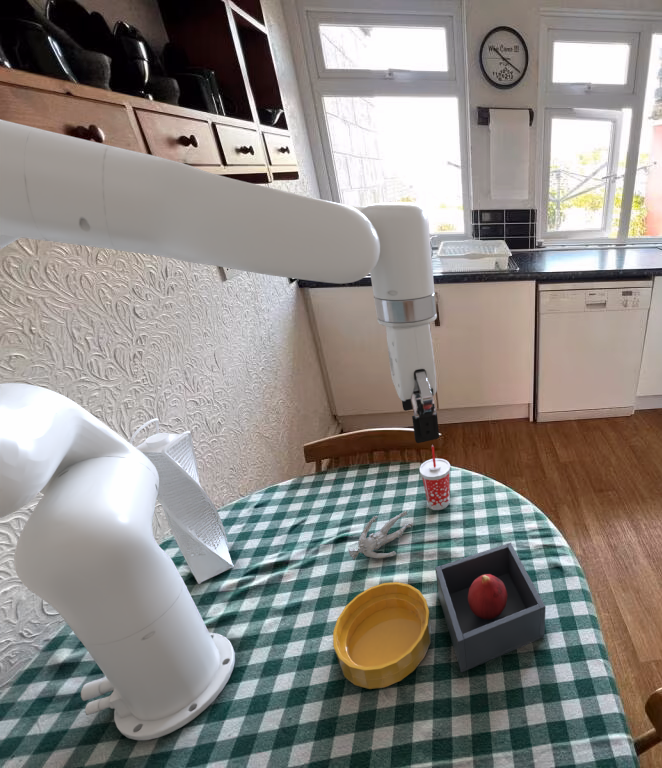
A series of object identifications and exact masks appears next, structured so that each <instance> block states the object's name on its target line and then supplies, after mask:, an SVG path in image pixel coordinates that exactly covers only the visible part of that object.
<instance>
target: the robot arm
mask: <svg viewBox="0 0 662 768" xmlns="http://www.w3.org/2000/svg"><path fill="white" fill-rule="evenodd" d="M430 236H431V235H430V223H429V217H428V213H427V211H426V209H425V208H424V207H423V206H422V205H420V204H418V203H414V202H379V203H373V204H369V205H366V206H365V205H349V204H347V205H346V204H343V203H339V202H334V201H330V200H326V199H322V198H321V199H320V198H316V197H312V196H307V195H303V194H299V193H295V192H291V191H287V190H283V189H278V188H273V187H269V186H264V185H261V184H257V183H252V182H247V181H244V180H239V179H235V178H231V177H227V176H224V175H220V174H216V173H212V172H209V171H206V170H204V169H201V168H197V167H195V166H192V165H189V164H187V163H183V162H180V161H176V160H172V159H169V158H165V157H161V156H157V155H153V154H149V153H144V152H139V151H135V150H131V149H127V148H123V147H119V146H113V145H108V144H104V143H100V142H95V141H93V140H88V139H84V138H80V137H75V136H71V135H67V134H62V133H59V132H55V131H51V130H46V129H41V128H37V127H35V126H34V127H33V126H31V125H25V124H21V123H17V122H13V121H9V120H5V119H0V250H1V249H4V248H5V247H7V246H9V245H11V244H12V243H14V242H16V241H18V240H21V238H22V239H29V240H37V241H43V242H53V243H62V244H69V245H75V246H76V245H77V246H83V247H84V246H85V247H92V248H98V249H105V250H114V251H117V252H118V251H119V252H127V253H132V254H133V253H134V254H143V255H148V256H156V257H161V258H166V259H167V258H169V259H174V260H177V261H182V262H185V263H190V264H191V263H192V264H198V265H208V266H215V267H220V268H226V269H231V270H237V271H243V272H248V273H253V274H259V275H260V274H261V275H266V276H273V277H280V278H287V279H297V280H303V281H310V282H311V281H313V282H320V283H326V284H349V283H355V282H358V281H360V280H363V279H364V278H366V277H368V275H369V274H370V275H369V276H370V281H371V287H372V293H373V301H374V307H375V314H376V320H377V323H378V324H379V325H381V326H383V327H385V334H386V345H387V353H388V360H389V361H388V362H389V370H390V371H389V372H390V377H391V378H390V379H391V381H392V384H393V386H394V390H395V393H396V395H397V397H398V399H399V400H401V405H402V409H403V411H404V412H407V411H413V415H411V420H412V427H413V434H414V435H413V436H414V440H415V443H416V444H422V443H426V442H430V441H434V440H438V439H439V438H440V430H439V419H438V412H437V408H436V404H435V398H434V396H435V395H436V394H437V391H438V386H437V385H438V384H437V372H436V363H435V354H434V345H433V337H432V331H431V323H433V322H434V321H435V320H437V318H438V314H437V304H436V292H435V283H434V282H435V280H434V270H433V259H432V248H431V237H430ZM129 442H130V441H127V439H125V438H123V437H122V436H121V435H120V434H118V433H117V432H116V431H114V430H113V429H112V428H110V427H109V426H108V425H107V424H105V423H104V422H102V420H100V419H99V418H98V417H96V416H95V415H93V414H92V413H90V412H89V411H88V410H87V409H86V408H84V407H82V406H81V405H80V404H78V403H77V402H75V401H74V400H72V399H71V398H69V397H67V396H66V395H63V394H61V393H59V392H57V391H54V390H51V389H49V388H46V387H42V386H38V385H35V384H29V383H20V382H2V383H0V519H2V518H4V517H6V516H9V515H11V514H12V515H13V513H15V512H18V510H20V509H22V508H24V507H25V506H27V505H28V504H29V503H30V502H31V501H33V500H34V499H35V498H36V497H37V496H38V494H39V493H40V494H42V495H43V496H42V497H41V498H40V499H39V501H38V502H37V504H36V506H35V508H34V509H33V510H32V512H31V514H30V515H29V517H28V519H27V521H26V522H25V524H24V526H23V528H22V530H21V532H20V534H19V536H18V539H17V542H16V545H15V549H14V555H13V563H14V570H15V574H16V576H17V578H18V579H19V581H20V582H21V583H22V584H23V586H24V587H26V588H27V589H28V590H29V591H30V592H32V593H33V594H34V595H36V596H37V597H39V598H40V599H42V600H43V601H44V602H46V603H47V604H48V605H50V607H52V608H53V609H54V610H55V611H56V613H58V615H60V617H61V618H62V619H63V620H64V621H65V623H66V624H67V626H68V627H69V628H70V629H71V631H72V632H73V633H74V635H75V636H76V638H77V639H78V640H79V641H80V643H81V644H82V645H83V646H84V648H85V649H86V651H87V652H88V654H89V655H90V656H91V658H92V659H93V661H94V662H95V663H96V665H97V666H98V668H99V669H100V671H102V673H103V675H104V677H100V678H98V679H95V680H91V681H89V682H86V683H84V684H83V686H82V687H81V690H80V698H81V700H82V701H83V702H86V701H88V702H87V703H86V705H85V709H84V713H85V716H90V715H94V714H96V713H100V712H102V711H103V710H106V709H108V708H110V709H111V710H114V711H113V716H114V717H113V718H114V723H115V726H116V728H117V730H118V731H119V732H120V733H121V735H122V736H125V738H127V739H131V740H134V741H150V740H153V739H159V738H161V737H163V736H166V735H169V734H171V733H173V732H175V731H177V730H178V729H181V728H182V727H184V726H186V725H187V724H189V723H190V722H192V721H193V720H194V719H196V718H197V717H198V716H200V714H202V713H203V712H204V711H205V710H206V709H208V707H209V706H210V705H211V704H212V703H213V702H214V701H215V700H216V699H217V697H218V696H219V695H220V694H221V693H222V691H223V690H224V689H225V687H226V685H227V683H228V682H229V680H230V678H231V676H232V673H233V670H234V667H235V663H236V652H235V650H234V649H235V648H234V647H233V645H232V642H231V641H230V639H228V638H227V637H226V636H224V635H222V634H220V633H217V632H216V633H215V632H210V631H209V630H208V628H207V625H206V623H205V621H204V619H203V617H202V615H201V613H200V611H199V609H198V607H197V605H196V602H195V601H194V599H193V597H192V595H191V593H190V591H189V589H188V587H187V585H186V583H185V581H184V579H183V577H182V576H181V574H180V572H179V569H178V568H177V566H176V564H175V562H174V560H173V559H172V558H171V556H170V555H169V554H168V553H167V552H166V551H165V550H164V549H163V548H162V547H161V546H160V545H159V544H158V542H157V541H156V539H155V535H154V531H153V521H154V516H155V511H156V510H155V509H156V503H157V495H158V489H159V476H158V472H157V470H156V468H155V466H154V465H153V463H152V462H151V461H150V460H149V459H148V458H147V457H146V456H145V455H144V454H143V453H142V452H140V451H139V450H138V449H137V448H135V447H136V446H134V445H133V444H132V445H131V444H130V443H129ZM110 692H111V694H110V695H108V696H105V697H101V698H98V699H94V698H97V697H100V696H103V695H105V694H107V693H110ZM92 699H94V700H92ZM89 700H92V701H89Z"/></svg>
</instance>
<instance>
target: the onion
mask: <svg viewBox="0 0 662 768" xmlns="http://www.w3.org/2000/svg"><path fill="white" fill-rule="evenodd" d="M507 596H508V595H507V591H506V588H505V585H504V583H503V582H502V581H501V580H500V579H498V578H497V577H495V576H493V575H491V574H485V575H482V576H480V577H478V578H477V579H475V580H474V581H473V583H472V585H471V586H470V588H469V593H468V602H469V606H470V609H471V610H472V612H473V613H474V614H475V615H477V616H478V617H480V618H482V619H487V620H489V619H493V618H495V617H497V616H498V615H500V614H501V613H502V611H503V610H504V608H505V607H506V602H507Z"/></svg>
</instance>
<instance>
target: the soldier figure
mask: <svg viewBox="0 0 662 768" xmlns="http://www.w3.org/2000/svg"><path fill="white" fill-rule="evenodd" d="M407 515H408V511H407V510H404V511H403V512H401V513H399V514H397V515H396V516H394V517H392V518H390V519H389V520H388V521H386V522H385V524H384V525H383V526H382V527H381V529H380V530H378V531H376V532H372V533H370V534H369V535H368V533H369V531H370V529H371V527H372V524H373V523H375V522H378V520H377V519H378V518H379V517H378V515H374V516H372V518H371V519H370V520H369V521H368V522H367V524H366V525H365V527H364V528H363V529H362V531H361V534H360V536H359V539H358V546H357V548H356V547H353V548H350V547H349V548H347V551H348V554H349V556H350V558H351V559H352V560H353V561H355V560H356V559H357V557H358V556H359V553H360V554H363V555H364V556H365V557H367V558H372V559H378V560H379V559H386V558H391V557H394V556H396V555H397V552H396V551H395V550H393V551H391V552H388V553H386V552H385V553H384V552H383V553H382V552H375V551H377V550H379V549H380V548H381V547H383V546H385V545H387V544H389V543H391V542H393V541H394V540H396V539H397V538H400V537H402V536H403V533H404V532H405V531H406V529H409V528H410V529H411V528H412V527H414V523H413V522H408V523H406V524H404V525H403V526H402V527H401V528H399V529H398V530H396V531H394V532H392V533H389V531H390V530H391V528H393V526H395V524H396V522H397V521H398V520H399V519H400V518H403V517H406V516H407ZM388 533H389V534H388ZM367 535H368V537H367Z"/></svg>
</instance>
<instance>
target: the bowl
mask: <svg viewBox="0 0 662 768" xmlns="http://www.w3.org/2000/svg"><path fill="white" fill-rule="evenodd" d="M428 605H429V604H428V602H427V599H426V597H425V596H424V595H423V593H422V592H421V591H420V590H419V589H417V588H416V587H414V586H412V585H411V584H409V583H408V584H407V583H404V582H399V581H395V582H392V581H391V582H383V583H379V584H377V585H374V586H370V587H368V588H367V589H365V590H363V591H362V592H360V593H358V594H357V595H356V596H355V597H354V598H353V599H352V600H350V602H349V603H347V604H346V605H345V607H344V608H343V609H342V611H341V612H340V614H339V616H338V617H337V619H336V623H335V625H334V627H333V631H332V641H333V642H332V645H333V646H332V647H333V650H334V653H335V656H336V659H337V663H338V666H339V668H340V670H341V672H342V674H343V676H344V678H346V679H347V680H348V681H349V682H350V683H352V684H353V685H354V686H357V687H360V688H363V689H364V688H365V689H366V690H367V689H368V690H372V689H373V690H374V689H382V688H383V689H384V688H386V687H390V686H391V685H394V684H396V683H398V682H401V681H402V680H404V679H405V678H406V677H408V676H409V675H410V674H412V673H413V672H414V671H415V670H416V669H417V668H418V666H419V665H420V663H422V661H423V660H424V658H425V657H426V654H427V652H428V649H429V648H430V644H431V640H432V631H433V630H432V622H431V615H430V610H429V606H428Z"/></svg>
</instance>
